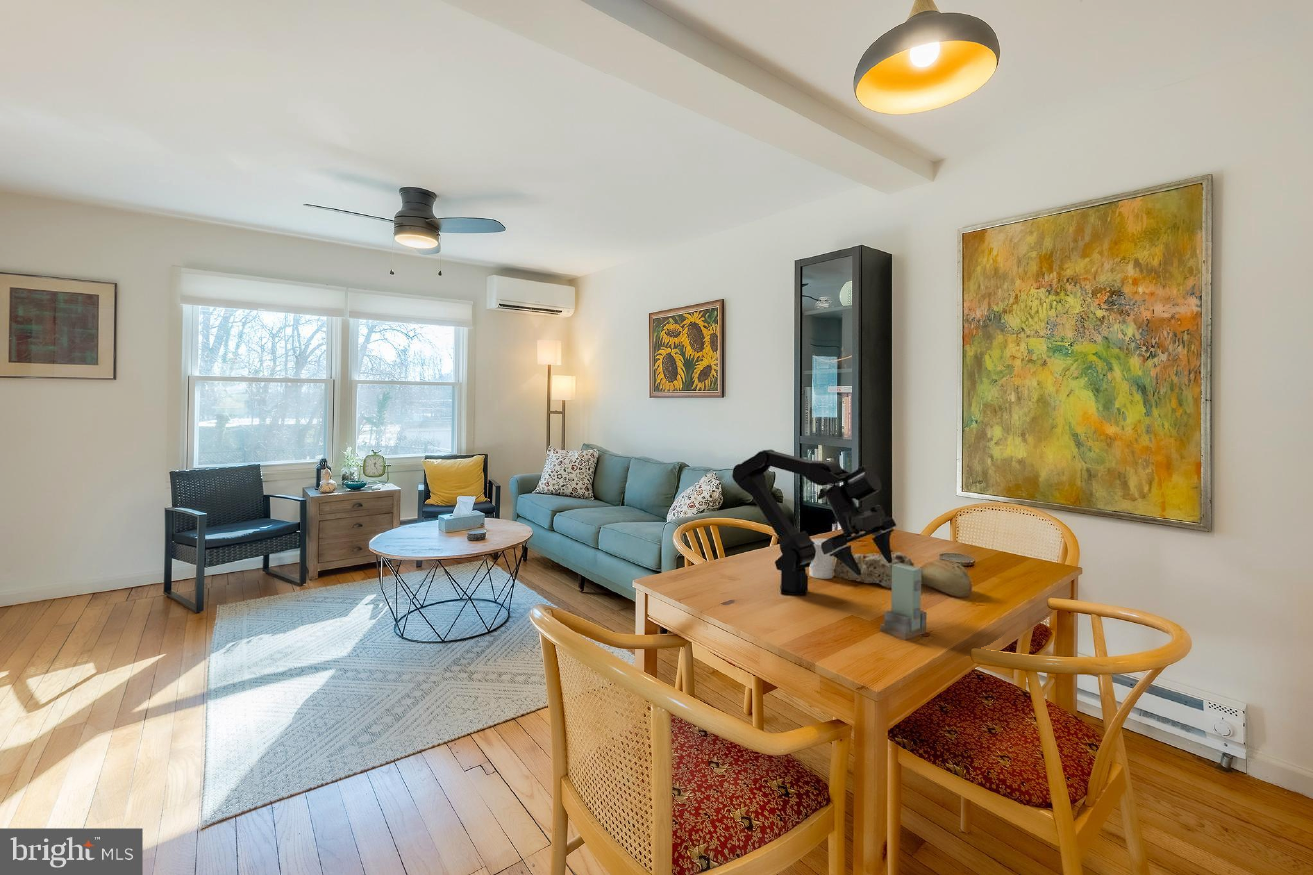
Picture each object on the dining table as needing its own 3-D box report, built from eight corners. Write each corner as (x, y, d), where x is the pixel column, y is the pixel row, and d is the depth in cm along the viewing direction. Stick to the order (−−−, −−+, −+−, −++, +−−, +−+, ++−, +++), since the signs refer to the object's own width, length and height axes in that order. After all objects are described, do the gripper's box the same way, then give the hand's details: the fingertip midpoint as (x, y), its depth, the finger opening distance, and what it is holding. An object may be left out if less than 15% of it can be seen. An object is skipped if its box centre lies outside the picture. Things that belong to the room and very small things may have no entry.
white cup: (805, 571, 172) (806, 538, 171) (833, 572, 171) (833, 538, 170) (808, 579, 164) (809, 544, 163) (837, 580, 163) (838, 545, 162)
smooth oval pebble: (931, 580, 163) (932, 552, 162) (981, 596, 149) (982, 565, 149) (907, 585, 159) (908, 556, 158) (957, 601, 145) (958, 570, 145)
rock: (827, 581, 165) (829, 546, 167) (851, 582, 175) (852, 549, 177) (899, 589, 151) (900, 550, 152) (921, 590, 160) (921, 554, 162)
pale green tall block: (890, 623, 126) (892, 565, 126) (899, 620, 128) (900, 563, 127) (913, 631, 122) (914, 571, 121) (921, 628, 124) (923, 568, 123)
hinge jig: (880, 630, 126) (880, 610, 126) (901, 623, 130) (901, 604, 130) (904, 640, 121) (905, 619, 121) (926, 632, 125) (926, 612, 125)
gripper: (829, 508, 131) (862, 574, 125) (893, 486, 137) (926, 548, 132) (807, 523, 141) (837, 584, 135) (868, 502, 147) (898, 559, 142)
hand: (875, 569), depth 136 cm, fingers open, 9 cm apart
